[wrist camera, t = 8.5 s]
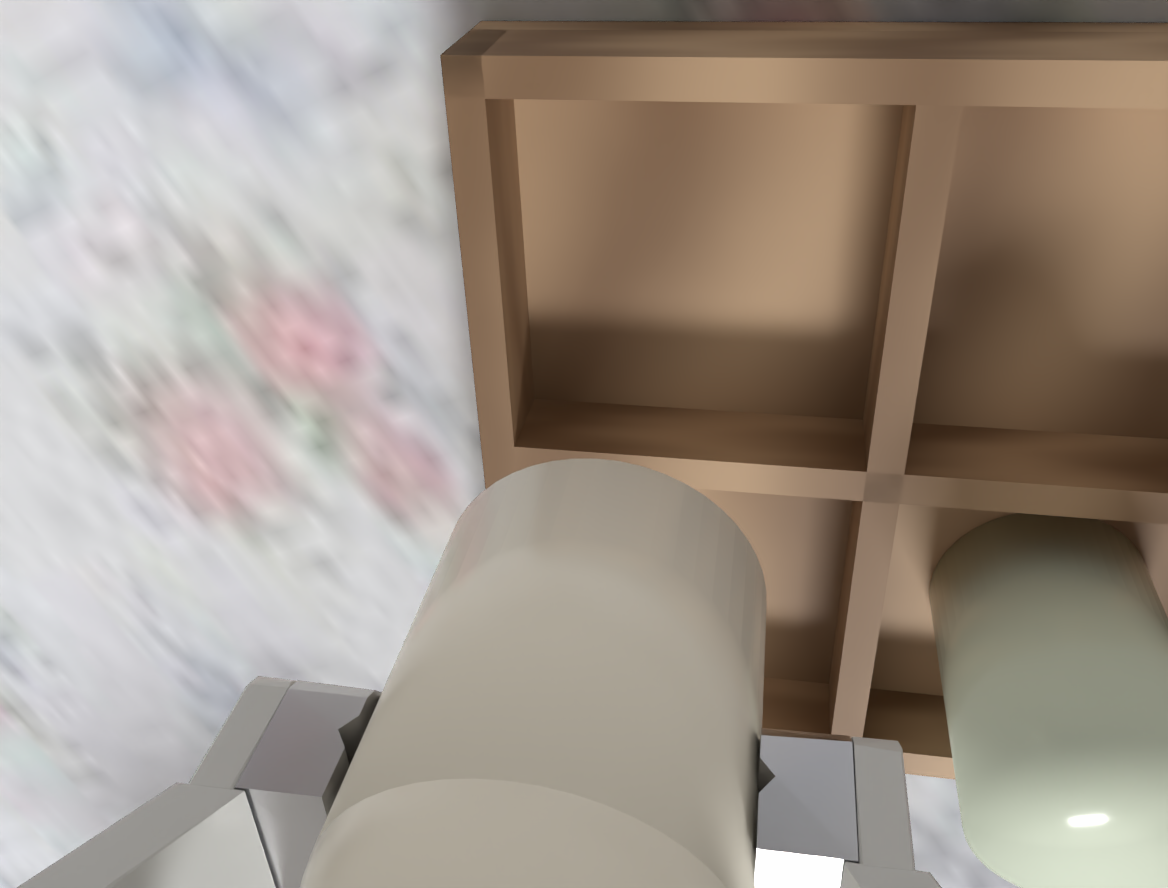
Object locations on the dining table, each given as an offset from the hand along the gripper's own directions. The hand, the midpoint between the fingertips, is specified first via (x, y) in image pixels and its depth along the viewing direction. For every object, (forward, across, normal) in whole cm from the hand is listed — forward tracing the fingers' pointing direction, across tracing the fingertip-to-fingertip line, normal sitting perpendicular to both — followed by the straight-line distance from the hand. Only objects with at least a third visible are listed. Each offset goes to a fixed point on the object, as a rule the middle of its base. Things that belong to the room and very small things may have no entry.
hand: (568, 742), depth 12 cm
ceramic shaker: (+3, 0, 0) cm, 3 cm away
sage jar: (+14, -9, +9) cm, 19 cm away
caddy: (+15, -5, +4) cm, 16 cm away
